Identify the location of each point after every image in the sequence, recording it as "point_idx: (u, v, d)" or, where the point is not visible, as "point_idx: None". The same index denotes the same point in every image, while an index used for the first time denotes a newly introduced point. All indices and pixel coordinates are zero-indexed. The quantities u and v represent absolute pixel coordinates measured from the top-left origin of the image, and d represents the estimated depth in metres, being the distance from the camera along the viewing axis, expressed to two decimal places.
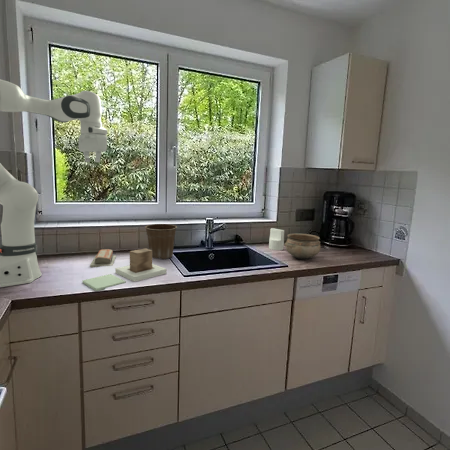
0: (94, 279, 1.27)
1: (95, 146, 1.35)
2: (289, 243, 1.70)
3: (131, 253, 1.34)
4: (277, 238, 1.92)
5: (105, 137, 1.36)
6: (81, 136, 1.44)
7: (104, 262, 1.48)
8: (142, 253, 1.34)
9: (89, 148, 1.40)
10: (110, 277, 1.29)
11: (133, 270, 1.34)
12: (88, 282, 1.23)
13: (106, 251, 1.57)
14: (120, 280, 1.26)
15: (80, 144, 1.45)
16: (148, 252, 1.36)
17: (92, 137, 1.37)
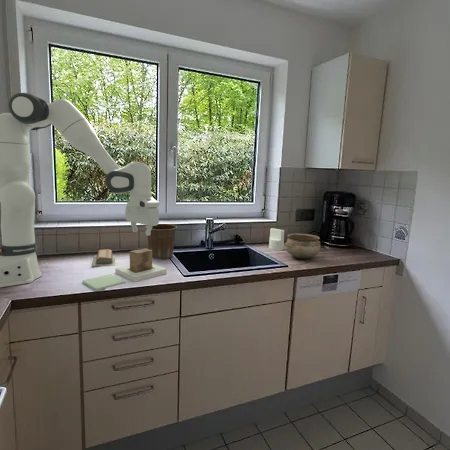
0: (94, 279, 1.27)
1: (147, 220, 1.28)
2: (289, 243, 1.70)
3: (131, 253, 1.34)
4: (277, 238, 1.92)
5: (157, 210, 1.28)
6: (129, 206, 1.36)
7: (106, 262, 1.48)
8: (142, 253, 1.34)
9: (139, 220, 1.32)
10: (110, 277, 1.29)
11: (133, 270, 1.34)
12: (88, 282, 1.23)
13: (106, 251, 1.57)
14: (120, 280, 1.26)
15: (127, 213, 1.37)
16: (148, 252, 1.36)
17: (143, 210, 1.29)
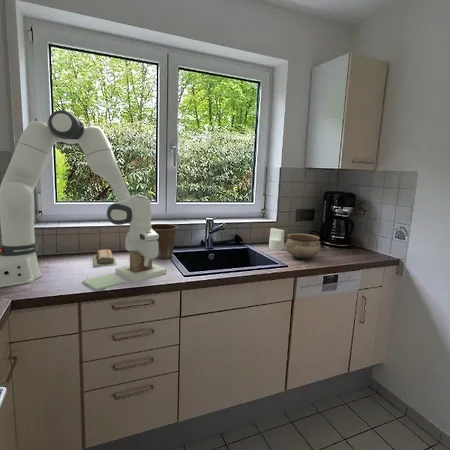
0: (94, 279, 1.27)
1: (147, 252, 1.30)
2: (289, 243, 1.70)
3: (131, 253, 1.34)
4: (277, 238, 1.92)
5: (157, 243, 1.31)
6: (129, 236, 1.38)
7: (107, 262, 1.48)
8: None
9: (138, 251, 1.34)
10: (110, 277, 1.29)
11: (133, 270, 1.34)
12: (88, 282, 1.23)
13: (105, 251, 1.57)
14: (120, 280, 1.26)
15: (127, 243, 1.39)
16: None
17: (143, 243, 1.31)
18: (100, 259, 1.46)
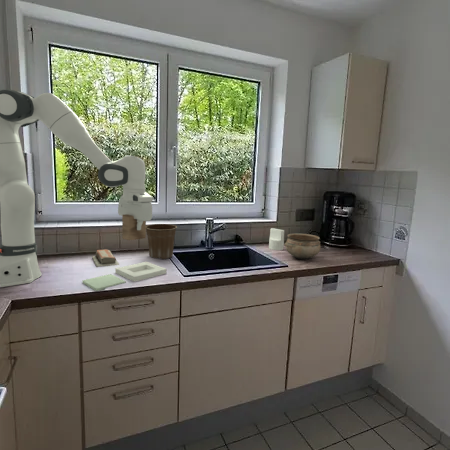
0: (94, 279, 1.27)
1: (140, 215, 1.25)
2: (289, 243, 1.70)
3: (124, 216, 1.29)
4: (277, 238, 1.92)
5: (150, 205, 1.26)
6: (122, 200, 1.33)
7: (110, 262, 1.48)
8: None
9: None
10: (110, 277, 1.29)
11: (126, 234, 1.30)
12: (88, 282, 1.23)
13: (105, 251, 1.57)
14: (120, 280, 1.26)
15: (120, 208, 1.35)
16: None
17: (136, 205, 1.26)
18: (103, 259, 1.46)
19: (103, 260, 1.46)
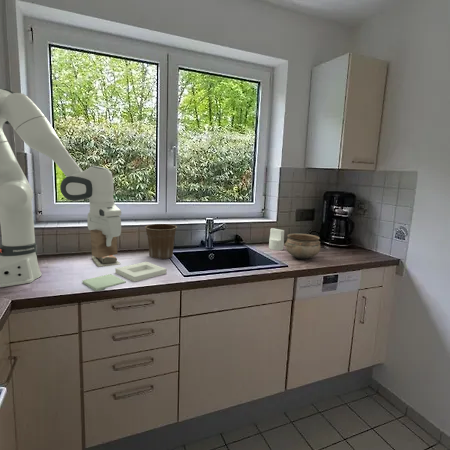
0: (94, 279, 1.27)
1: (108, 230, 1.15)
2: (289, 243, 1.70)
3: (92, 232, 1.20)
4: (277, 238, 1.92)
5: (119, 220, 1.16)
6: (90, 214, 1.24)
7: (111, 261, 1.49)
8: None
9: (100, 230, 1.20)
10: (110, 277, 1.29)
11: (94, 251, 1.20)
12: (88, 282, 1.23)
13: None
14: (120, 280, 1.26)
15: (89, 222, 1.25)
16: None
17: (104, 220, 1.16)
18: (104, 259, 1.46)
19: (104, 260, 1.46)
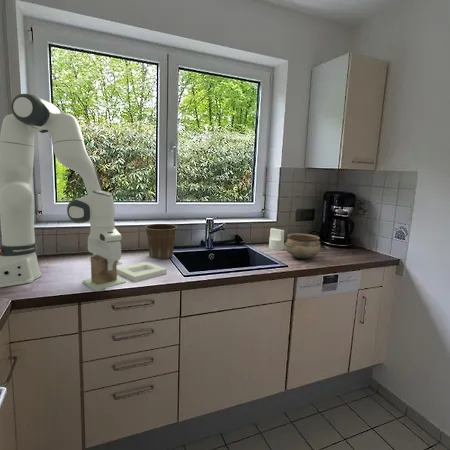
0: None
1: (108, 255, 1.17)
2: (289, 243, 1.70)
3: (92, 259, 1.22)
4: (277, 238, 1.92)
5: (119, 244, 1.18)
6: (91, 237, 1.25)
7: None
8: (104, 259, 1.21)
9: (100, 253, 1.21)
10: None
11: (94, 278, 1.22)
12: (88, 282, 1.23)
13: None
14: (120, 280, 1.26)
15: (89, 245, 1.27)
16: None
17: (104, 244, 1.18)
18: None
19: None
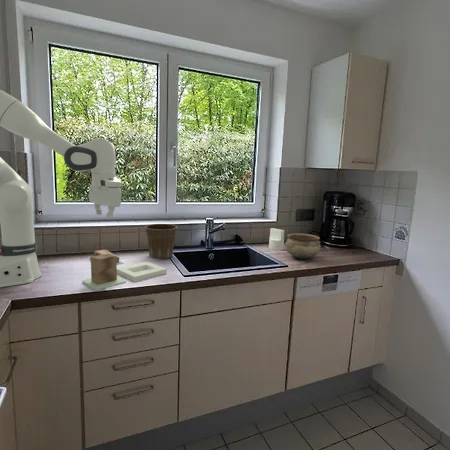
0: None
1: (108, 200, 1.19)
2: (289, 243, 1.70)
3: (92, 259, 1.22)
4: (277, 238, 1.92)
5: (119, 191, 1.20)
6: (92, 186, 1.28)
7: None
8: (104, 259, 1.21)
9: (101, 201, 1.24)
10: None
11: (94, 278, 1.22)
12: (88, 282, 1.23)
13: (104, 251, 1.57)
14: (120, 280, 1.26)
15: (91, 194, 1.29)
16: (111, 258, 1.24)
17: (105, 190, 1.20)
18: None
19: None
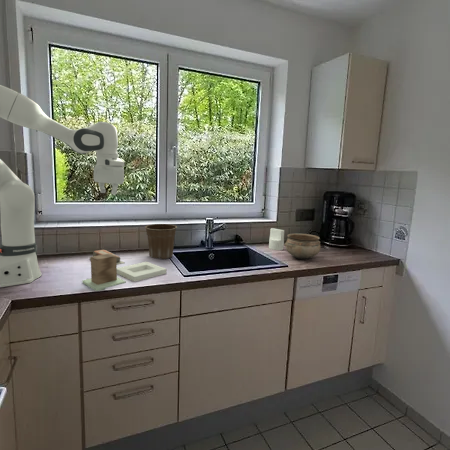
0: None
1: (112, 178, 1.31)
2: (289, 243, 1.70)
3: (92, 259, 1.22)
4: (277, 238, 1.92)
5: (122, 169, 1.32)
6: (96, 167, 1.39)
7: None
8: (104, 259, 1.21)
9: (105, 180, 1.35)
10: None
11: (94, 278, 1.22)
12: (88, 282, 1.23)
13: (104, 251, 1.57)
14: (120, 280, 1.26)
15: (95, 175, 1.41)
16: (111, 258, 1.24)
17: (109, 169, 1.32)
18: None
19: None
